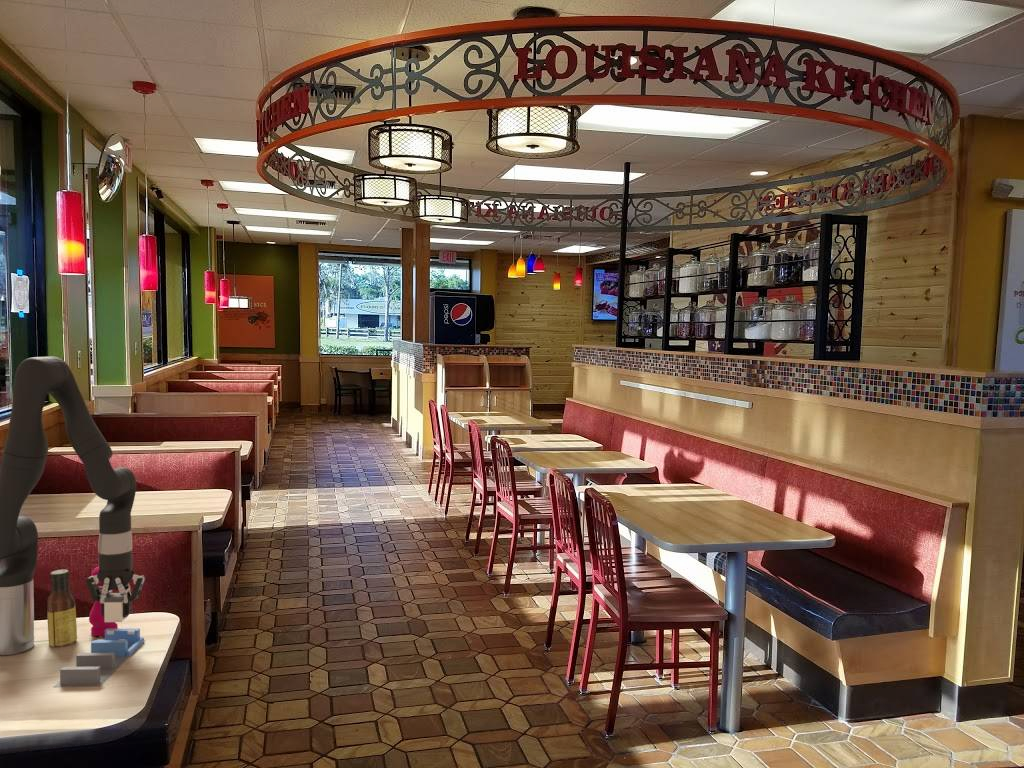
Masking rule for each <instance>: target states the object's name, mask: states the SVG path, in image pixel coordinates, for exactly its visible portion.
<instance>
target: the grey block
mask: <svg viewBox="0 0 1024 768" xmlns="http://www.w3.org/2000/svg"><path fill="white" fill-rule="evenodd" d="M123 603H124V602H123V597H122V596H121V595H120V593H119V592H113V593H111V594H110V595H108V596H107V597H105V598H104V620H105V622H116V623H123V621H125V620H126V619H127V618H128V617H129V615H128V616H127V617H126V618H123Z"/></svg>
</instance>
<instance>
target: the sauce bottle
mask: <svg viewBox="0 0 1024 768" xmlns="http://www.w3.org/2000/svg"><path fill="white" fill-rule="evenodd" d="M69 572H70V571H69V570H68V569H64V568H63V569H56V570H53V571H51V572H50V574H49V575H50V579H51V592H50V594H49V596H48V598H47V601H46V603H47V604H46V607H47V610H46V614H47V617H46V618H47V633H48V635H47V637H48V646H50V647H53V648H63V647H69V646H72V645H73V644H75V643H76V642H77V640H78V632H77V631H78V627H77V611H76V610H77V609H76V607H77V606H76V600H75V598H74V595H73V592H72V590H71V588H70V585H69V584H70V583H69V577H70V573H69Z"/></svg>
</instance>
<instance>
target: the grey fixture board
mask: <svg viewBox="0 0 1024 768" xmlns="http://www.w3.org/2000/svg"><path fill="white" fill-rule="evenodd" d="M145 642H146V640H145V636H141V629H140V628H137V627H136V628H135V627H134V628H127V627H126V628H118V629H106V630H105V637H104V639H95V640H92V641H91V642H90V652H79V653H78V654H77V655H76V656H75V657H76V660H75V661H76V662H75V666H63V667H62V668H60V669H59V677H60V678H59V681H58V682H57V683H56V684H55V685H54V686H53V688H95V687H99V688H101V686H102V685H103V684H105V683H106V681H107V680H108V679H109V678H111V677H112V675H114V673H115V672H116V671H117V670H118V669H119V668H120V667H121V666H122V665H123V664H124V663H125V662H126V661H127V660H128V659H129V658H130V657H131V655H133V654H134V653H135V652H136V650H138V649H139V647H141V646H142V644H144V643H145Z"/></svg>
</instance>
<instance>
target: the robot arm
mask: <svg viewBox="0 0 1024 768" xmlns="http://www.w3.org/2000/svg"><path fill="white" fill-rule="evenodd" d="M12 392H13V394H12V403H11V413H10V418H9V424H8V428H7V434H6V439H5V442H4V447H3V451H2V455H1V459H0V460H1V461H0V560H1V561H0V656H9V655H16V654H19V653H23V652H25V651H26V652H27V651H29V650H31V649H32V648H33V647H34V646H35V611H34V610H35V605H34V604H35V603H34V602H35V600H34V599H35V598H34V593H35V591H34V573H35V570H36V568H37V566H38V565H37V564H38V555H39V554H38V549H39V533H38V528H37V525H36V524H35V522H34V521H33V520H32V519H31V518H29V517H27V516H24V515H20V513H21V510H22V508H23V506H24V503H25V501H26V500H27V499H28V497H29V495H30V494H31V493H32V491H33V490H34V488H35V487H36V486H37V484H38V482H39V481H40V479H41V478H42V475H43V474H44V470H45V468H46V467H45V466H46V463H47V458H48V453H49V443H48V442H49V441H48V437H47V433H46V431H45V428H44V424H43V420H42V419H43V410H44V406H45V401H46V398H47V395H50V396H51V397H52V398H53V399H54V401H55V402H56V403H57V404H58V406H59V408H60V410H61V412H62V415H63V418H64V423H65V426H64V427H65V432H66V436H67V439H68V441H69V443H70V445H71V447H72V449H73V450H74V452H75V453H76V455H77V456H78V458H79V459H80V461H81V463H82V464H83V466H84V467H83V468H84V471H85V474H86V478H87V481H88V483H89V486H90V488H91V489H92V492H93V493H94V494H95V495H96V496H97V497H98V498H100V499H102V500H106V501H107V502H106V505H105V506H104V508H102V510H100V512H99V518H98V519H99V520H98V522H99V523H98V525H99V527H98V528H99V529H98V530H99V531H98V532H99V533H98V534H99V536H98V542H97V544H98V545H97V550H98V551H97V553H98V554H97V555H98V566H99V572H98V574H97V575H95V576H93V575H92V574H91V575H92V576H89V577H87V578H85V584H86V585H87V586H86V587H87V588H88V592H89V594H90V596H91V600H92V601H93V602H95V601H99V602H100V603H101V614H102V616H104V598H105V597H107V596H108V595H110V594H111V591H112V590H113V591H114V590H115V591H118V593H120V595H121V596H122V597H123V602H124V603H123V618H125V619H127V618H128V617H129V615H130V614H131V613H132V602H133V601H135V600H137V599H138V598H139V597H140V594H141V592H142V589H143V585H144V584H145V580H146V575H144V574H141V575H140V574H139V575H138V574H135V571H134V569H133V565H134V563H133V560H134V559H133V558H134V557H133V533H132V509H133V507H134V506H133V505H134V502H135V497H136V492H137V479H136V476H135V474H134V472H133V471H132V470H131V469H129V468H127V467H123V466H121V467H115V468H113V467H112V463H111V461H110V459H111V458H112V456H113V449H112V448H111V446H110V445H109V443H108V441H107V439H105V437H104V435H103V433H102V432H101V430H100V429H99V427H98V426H97V424H96V423H95V420H94V419H93V417H92V415H91V413H90V411H89V409H88V406H87V404H86V402H85V399H84V398H83V397H84V396H83V395H82V393H81V391H80V389H79V386H78V383H77V381H76V378H75V375H74V374H73V372H72V369H71V368H70V366H69V364H68V363H67V361H65V360H64V359H62V358H60V357H58V356H54V355H53V356H52V355H50V356H34V357H28V358H26V359H24V360H22V361H21V362H20V363H19V365H18V366H17V368H16V371H15V373H14V380H13V391H12ZM98 580H99V581H100V582H101V583H102V585H103V589H102V593H101V591H100V589H99V586H98ZM132 580H133V584H134V587H133V589H132V592H131V585H130V582H131V581H132ZM127 616H128V617H127ZM126 617H127V618H126Z"/></svg>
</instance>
